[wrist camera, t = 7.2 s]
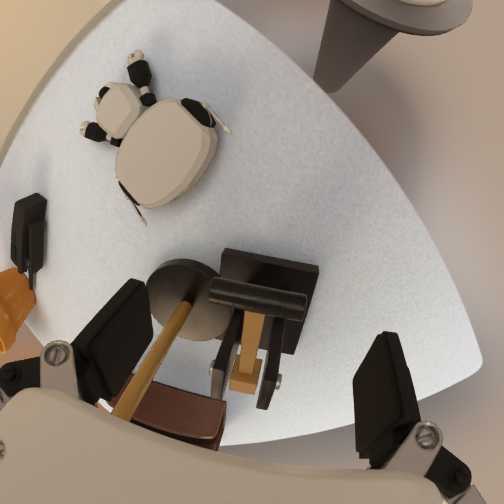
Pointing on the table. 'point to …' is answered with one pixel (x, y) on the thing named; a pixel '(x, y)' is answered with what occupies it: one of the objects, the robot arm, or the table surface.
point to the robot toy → (153, 138)
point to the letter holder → (179, 415)
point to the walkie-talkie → (28, 235)
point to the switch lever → (253, 321)
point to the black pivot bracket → (274, 328)
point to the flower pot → (13, 305)
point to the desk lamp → (175, 320)
